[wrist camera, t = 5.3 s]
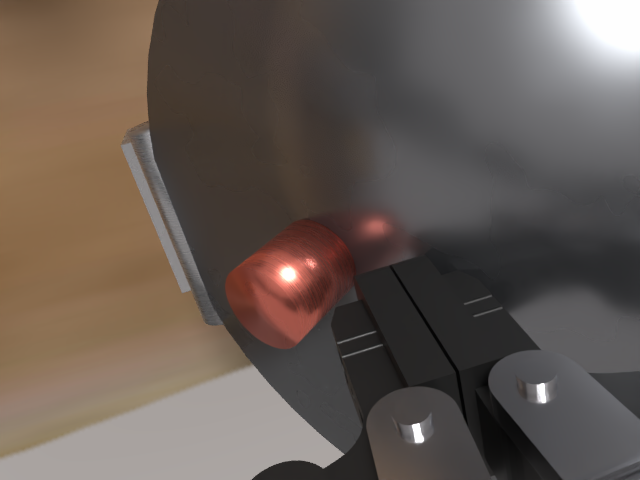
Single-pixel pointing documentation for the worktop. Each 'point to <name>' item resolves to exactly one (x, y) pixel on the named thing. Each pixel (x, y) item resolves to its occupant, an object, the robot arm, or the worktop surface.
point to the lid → (397, 169)
